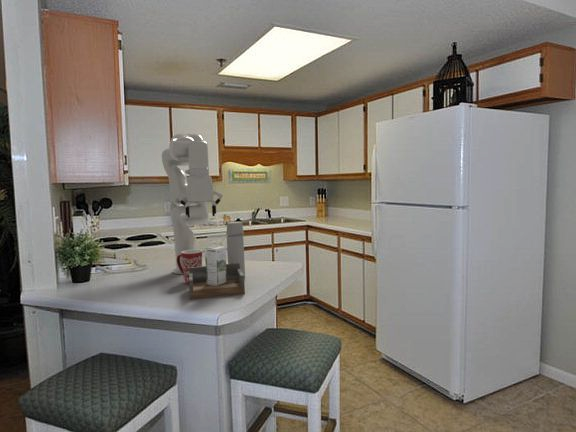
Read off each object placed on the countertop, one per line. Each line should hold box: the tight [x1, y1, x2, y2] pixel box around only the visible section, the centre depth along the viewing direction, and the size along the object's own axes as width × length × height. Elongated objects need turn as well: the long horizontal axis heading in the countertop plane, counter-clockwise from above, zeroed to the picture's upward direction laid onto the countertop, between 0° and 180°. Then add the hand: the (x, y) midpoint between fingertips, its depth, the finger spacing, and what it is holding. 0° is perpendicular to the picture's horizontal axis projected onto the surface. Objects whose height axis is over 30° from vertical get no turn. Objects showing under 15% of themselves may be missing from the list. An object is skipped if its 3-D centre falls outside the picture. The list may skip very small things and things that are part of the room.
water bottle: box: [225, 221, 246, 281], centre depth 169 cm, size 9×8×25 cm
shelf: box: [188, 263, 246, 300], centre depth 152 cm, size 14×20×9 cm
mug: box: [177, 249, 203, 285], centre depth 169 cm, size 13×9×14 cm
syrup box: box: [204, 245, 227, 286], centre depth 151 cm, size 6×6×14 cm
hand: (201, 216), depth 155 cm, fingers open, 9 cm apart
